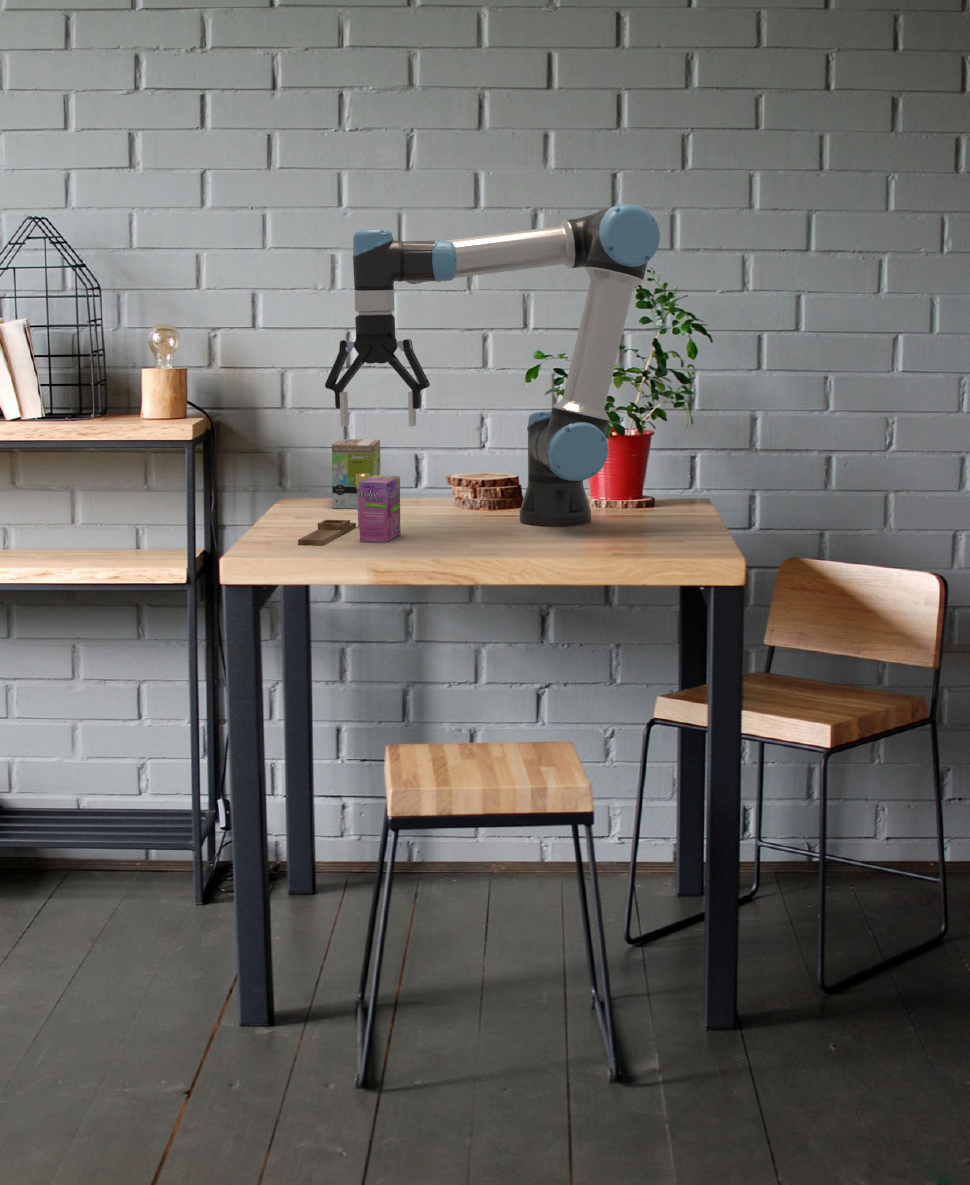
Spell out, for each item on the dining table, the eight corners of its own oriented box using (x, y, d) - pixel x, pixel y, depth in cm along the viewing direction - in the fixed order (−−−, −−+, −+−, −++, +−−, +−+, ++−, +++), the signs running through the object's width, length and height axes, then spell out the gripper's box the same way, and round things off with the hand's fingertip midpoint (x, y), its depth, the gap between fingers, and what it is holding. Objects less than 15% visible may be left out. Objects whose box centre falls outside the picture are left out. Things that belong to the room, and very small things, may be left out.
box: (387, 543, 255) (386, 482, 253) (359, 542, 256) (357, 481, 254) (401, 534, 265) (400, 475, 263) (374, 533, 266) (372, 475, 264)
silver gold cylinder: (373, 525, 276) (372, 473, 274) (369, 528, 273) (368, 475, 271) (359, 525, 276) (358, 473, 274) (355, 527, 273) (353, 474, 271)
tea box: (375, 509, 300) (374, 443, 297) (331, 509, 300) (329, 444, 297) (381, 500, 315) (380, 437, 312) (339, 500, 315) (337, 437, 312)
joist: (356, 527, 274) (356, 516, 273) (323, 545, 253) (323, 534, 252) (332, 526, 275) (332, 516, 274) (297, 544, 254) (297, 533, 253)
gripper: (443, 312, 253) (445, 424, 258) (318, 314, 258) (322, 424, 262) (434, 313, 246) (436, 427, 250) (306, 314, 251) (310, 427, 255)
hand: (378, 426), depth 256 cm, fingers open, 13 cm apart
